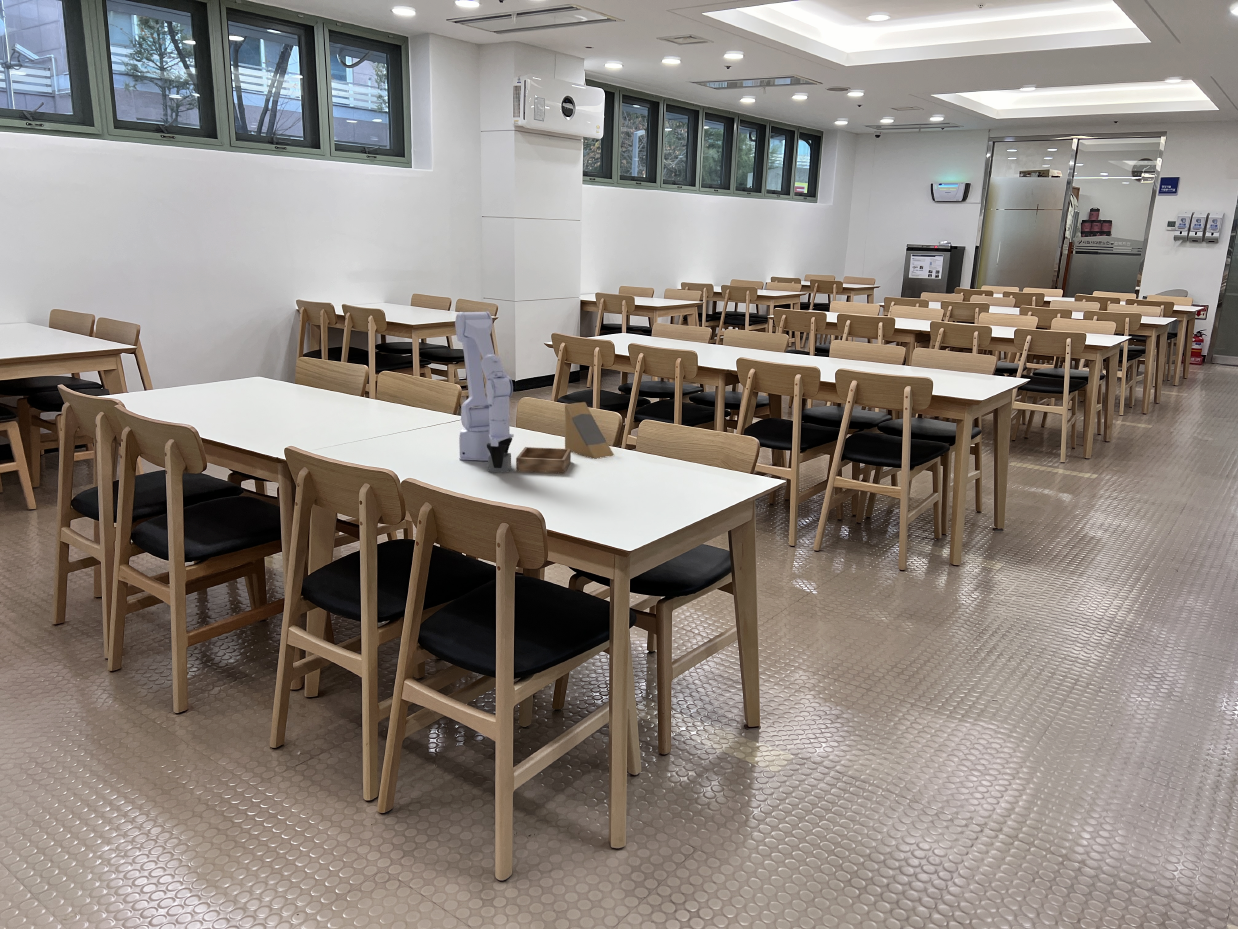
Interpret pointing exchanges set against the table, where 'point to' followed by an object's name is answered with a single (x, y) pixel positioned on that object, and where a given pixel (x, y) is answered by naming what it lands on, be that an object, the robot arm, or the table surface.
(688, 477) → the table surface
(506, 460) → the small crate
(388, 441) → the table surface
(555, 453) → the large crate
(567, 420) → the sandwich container
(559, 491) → the table surface
